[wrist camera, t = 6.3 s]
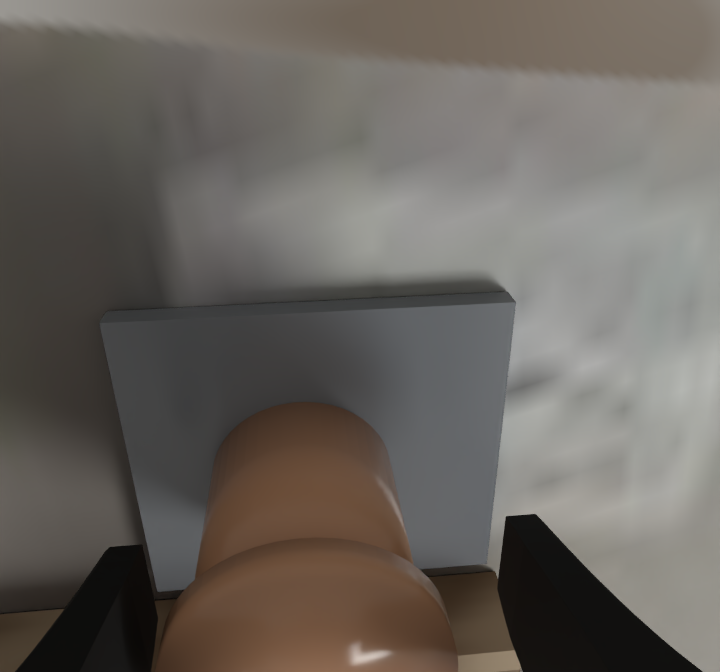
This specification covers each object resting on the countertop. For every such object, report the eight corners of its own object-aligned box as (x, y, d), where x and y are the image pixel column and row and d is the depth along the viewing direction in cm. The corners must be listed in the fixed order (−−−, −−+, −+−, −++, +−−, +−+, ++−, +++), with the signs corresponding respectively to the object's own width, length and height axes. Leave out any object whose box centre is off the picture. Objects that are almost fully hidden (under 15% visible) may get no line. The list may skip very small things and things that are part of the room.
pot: (419, 389, 15) (482, 573, 10) (394, 553, 17) (435, 765, 13) (192, 384, 14) (143, 578, 10) (197, 555, 17) (161, 781, 12)
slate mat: (507, 291, 15) (516, 301, 14) (480, 548, 18) (486, 563, 18) (106, 311, 14) (99, 323, 14) (161, 574, 18) (157, 592, 17)
